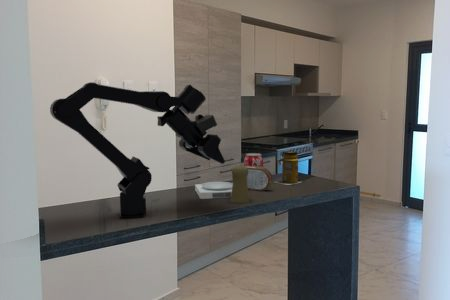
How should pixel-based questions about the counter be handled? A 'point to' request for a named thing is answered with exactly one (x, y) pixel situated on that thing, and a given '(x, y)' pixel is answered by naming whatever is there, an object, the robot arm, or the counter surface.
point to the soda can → (253, 160)
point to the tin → (258, 178)
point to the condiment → (289, 168)
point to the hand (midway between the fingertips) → (216, 160)
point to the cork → (240, 185)
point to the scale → (214, 190)
